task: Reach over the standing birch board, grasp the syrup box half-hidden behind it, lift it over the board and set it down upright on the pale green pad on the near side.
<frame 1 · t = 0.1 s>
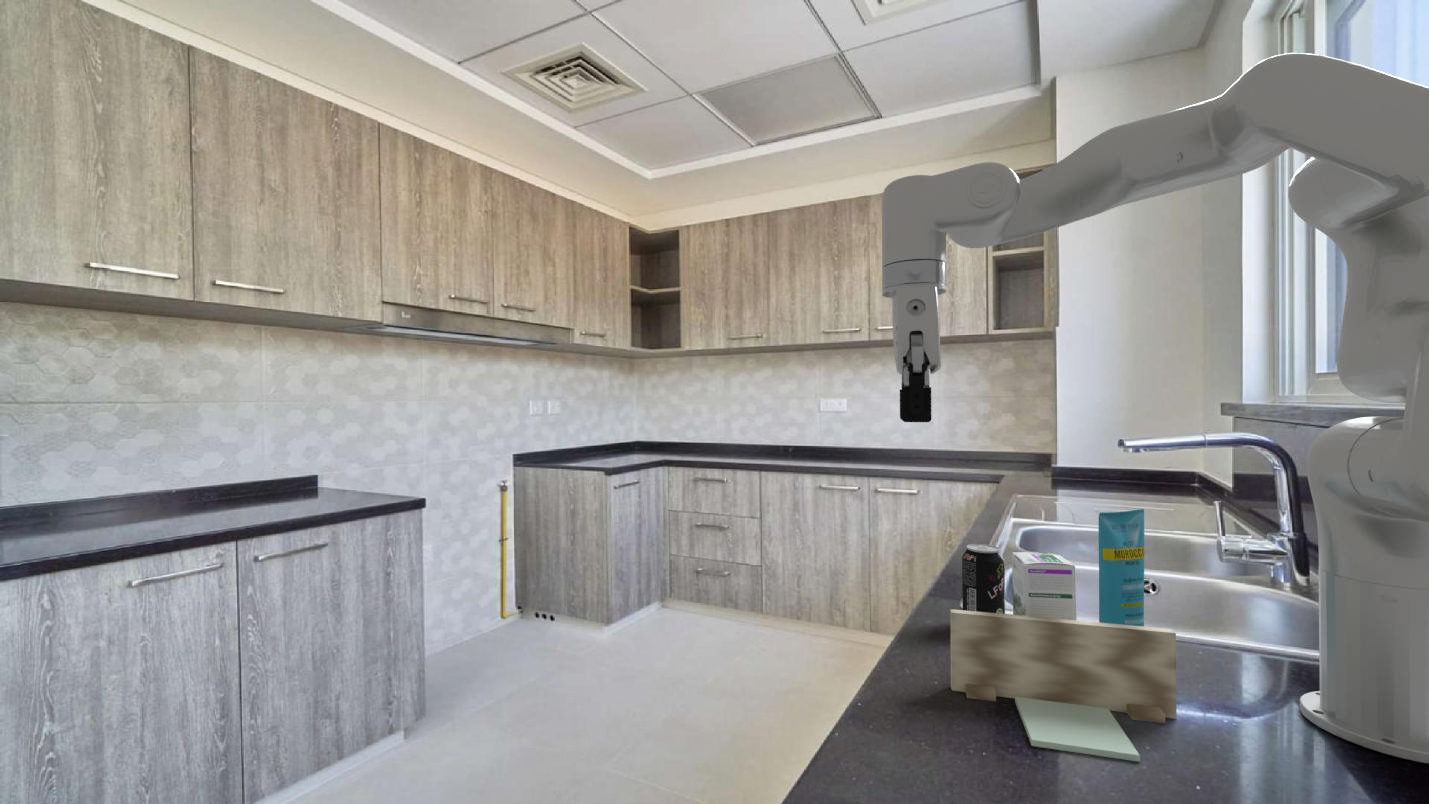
hand: (914, 420, 74), 31 cm above the counter, tool pointing down, fingers open, 9 cm apart
tube: (1122, 659, 79), on the counter
birch board: (1057, 701, 67), on the counter
green pad: (1071, 729, 61), on the counter
beverage can: (983, 629, 89), on the counter
syrup box: (1044, 678, 73), on the counter
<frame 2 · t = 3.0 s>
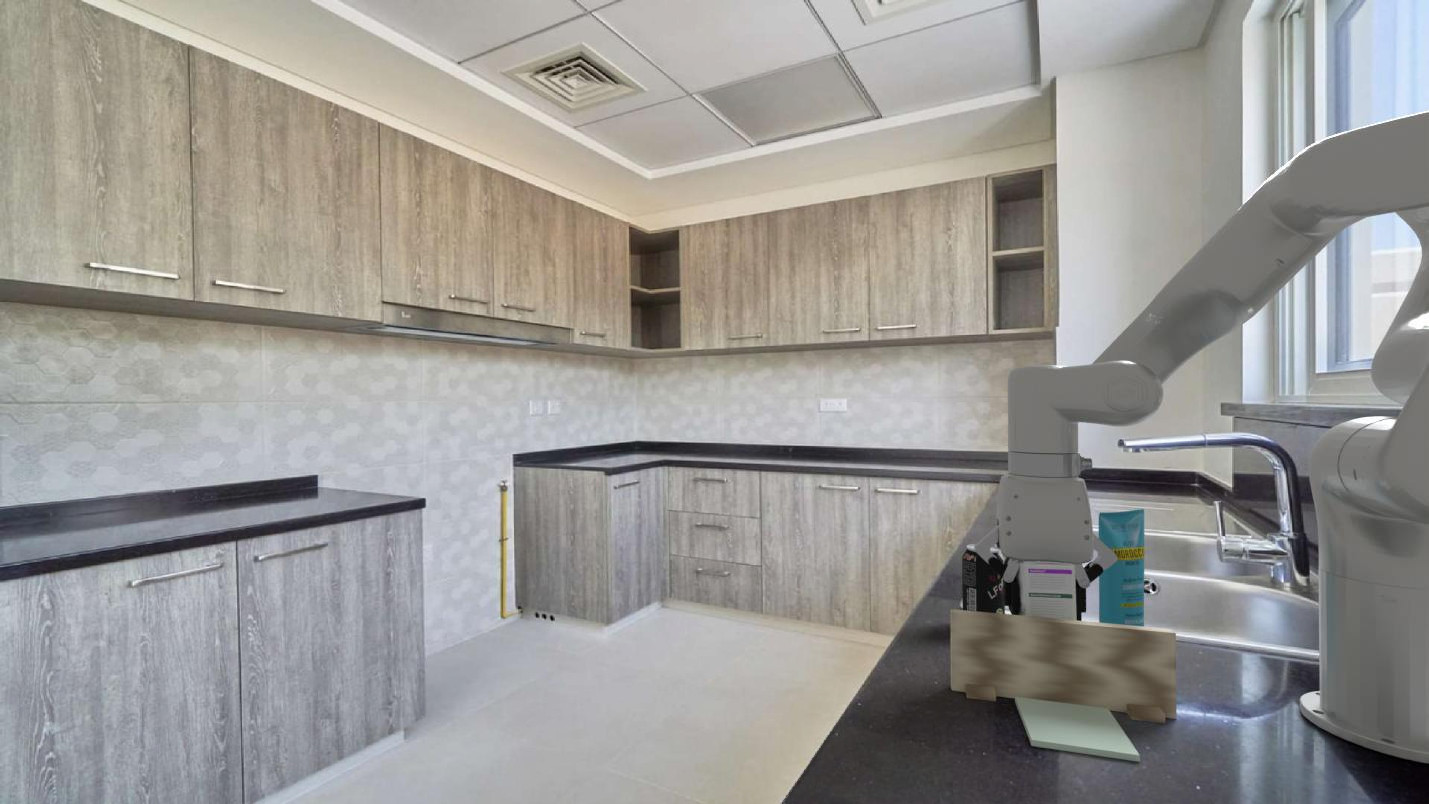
hand: (1043, 613, 73), 8 cm above the counter, tool pointing down, fingers closed on syrup box, 6 cm apart
syrup box: (1044, 678, 73), on the counter, touching gripper
everything else where it was.
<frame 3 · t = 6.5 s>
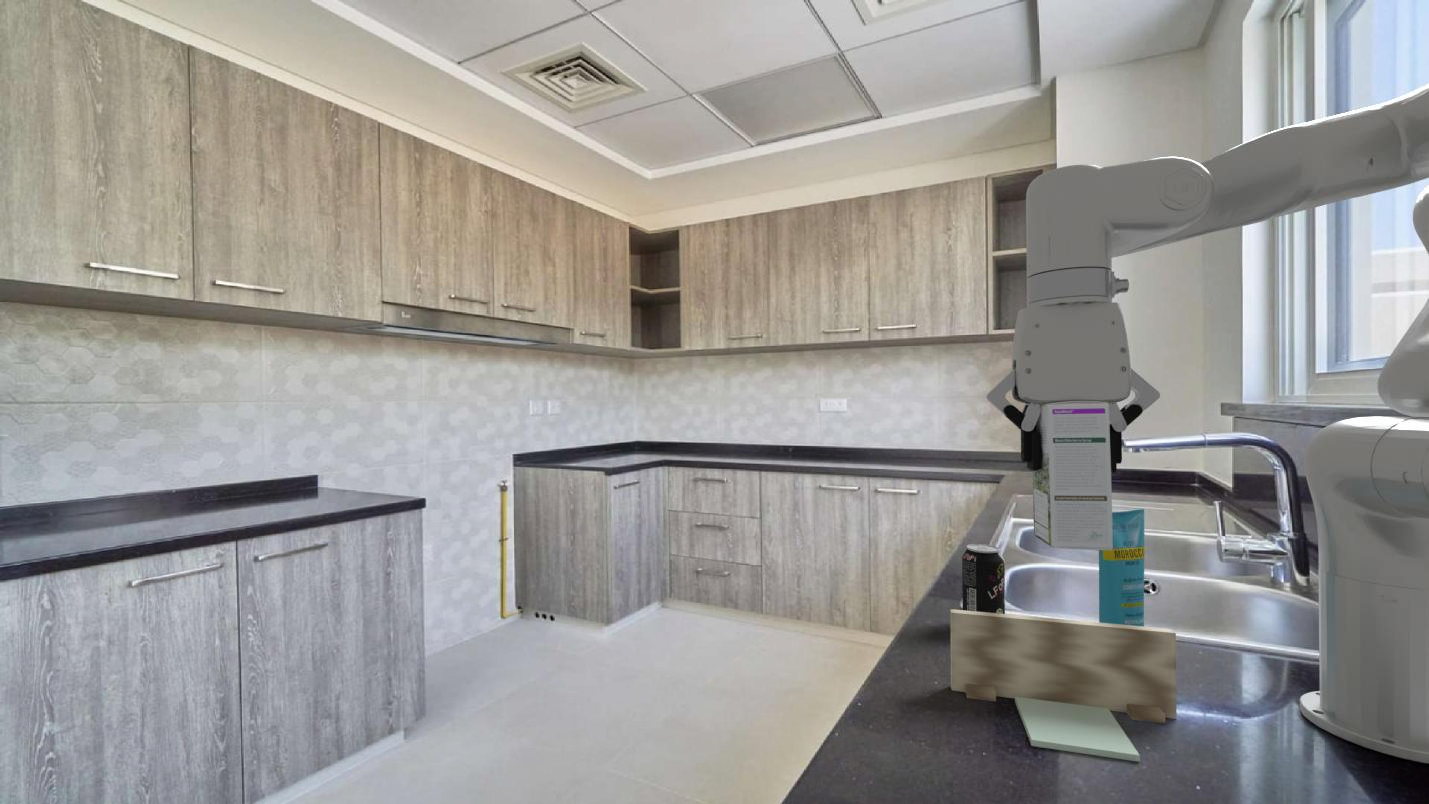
hand: (1069, 468, 61), 27 cm above the counter, tool pointing down, fingers closed on syrup box, 6 cm apart
syrup box: (1070, 545, 61), point 19 cm above the counter, touching gripper
everything else where it was.
when the fingers open (9 cm above the counter, at t = 10.0 s): syrup box stays where it is, resting on green pad.
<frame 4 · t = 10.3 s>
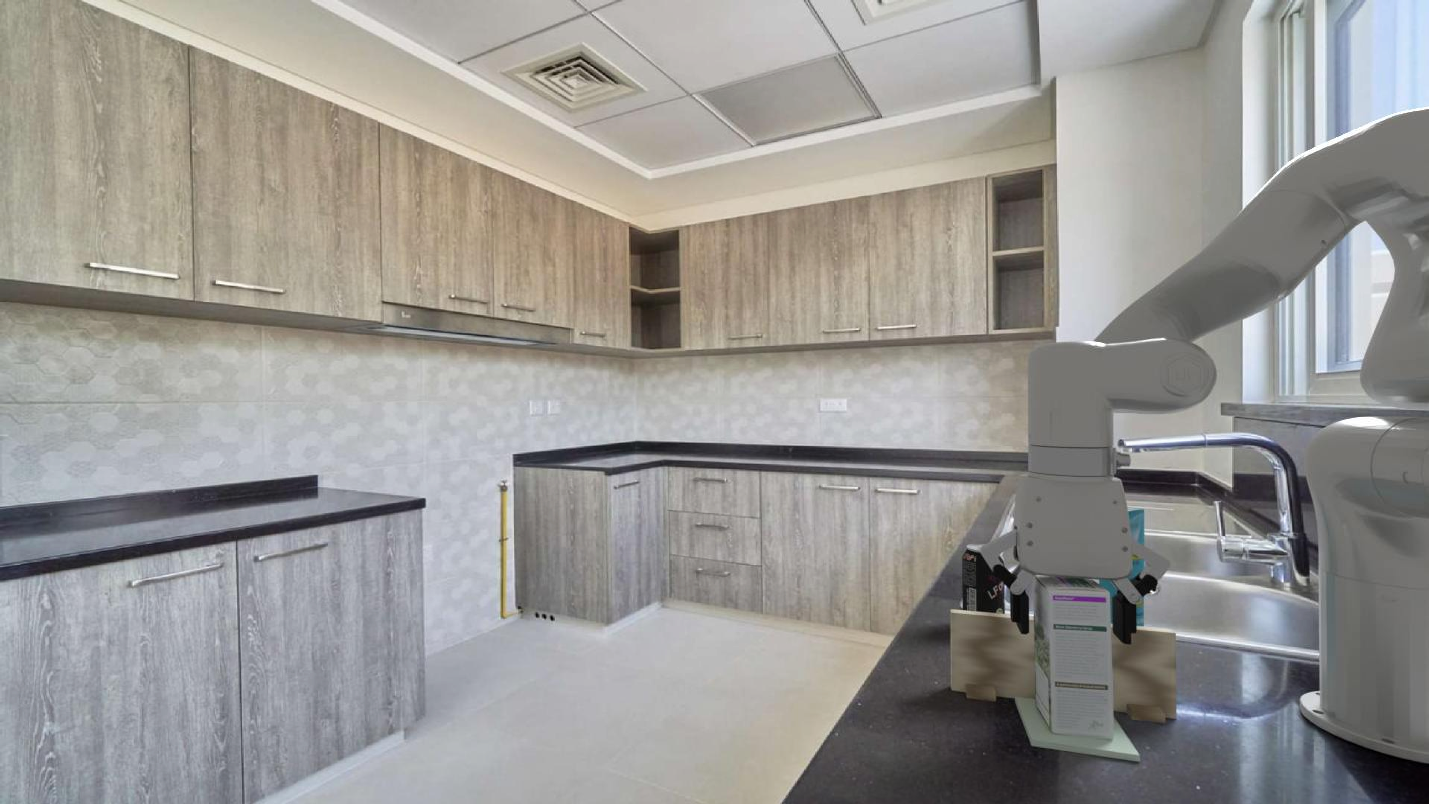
hand: (1071, 633, 61), 10 cm above the counter, tool pointing down, fingers open, 8 cm apart
syrup box: (1071, 724, 61), resting on green pad
everything else where it was.
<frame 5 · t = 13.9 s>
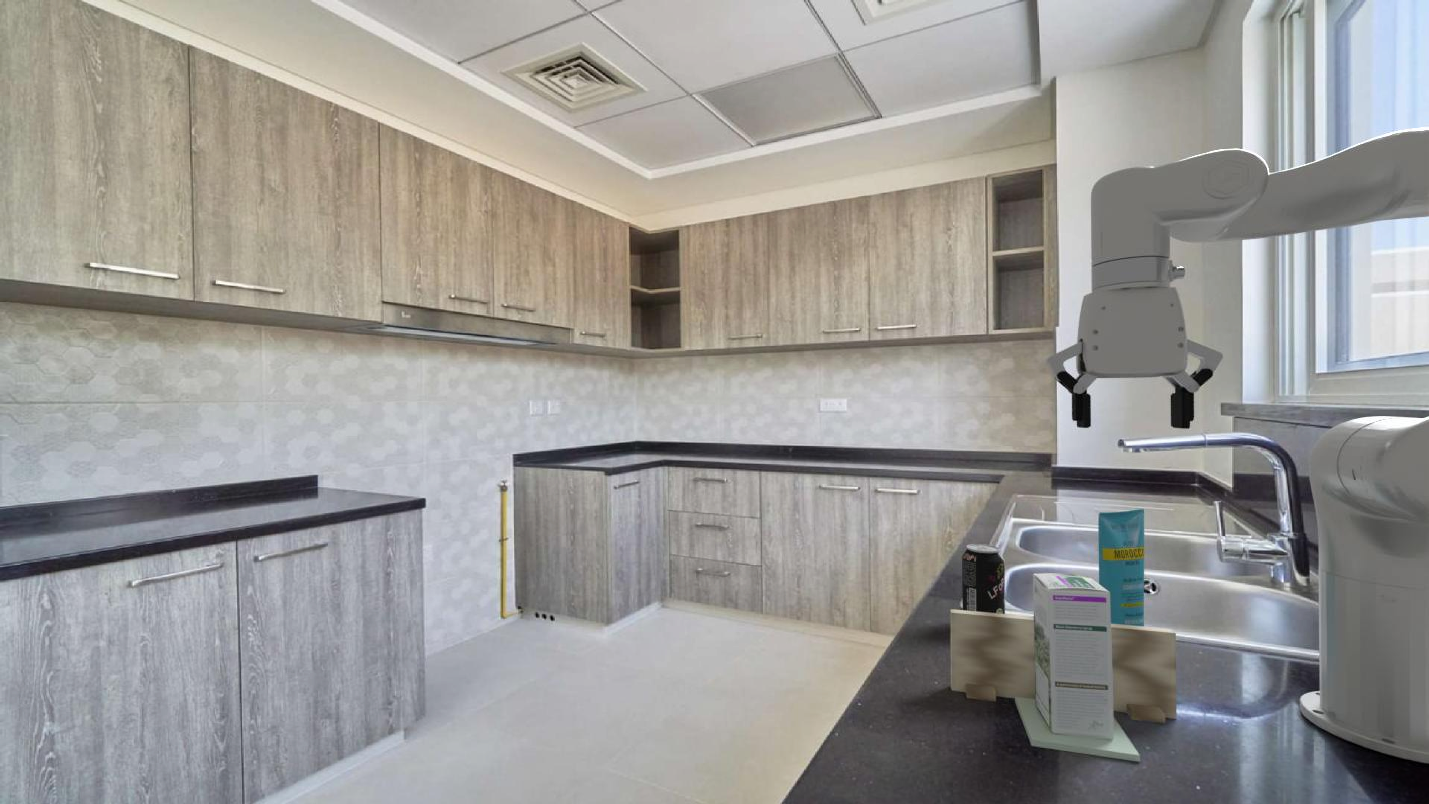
hand: (1130, 427, 70), 30 cm above the counter, tool pointing down, fingers open, 9 cm apart
nothing on the counter moved.
at the end: syrup box 0.1 cm from the green pad (horizontally); syrup box tilted 0°; syrup box resting on green pad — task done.
